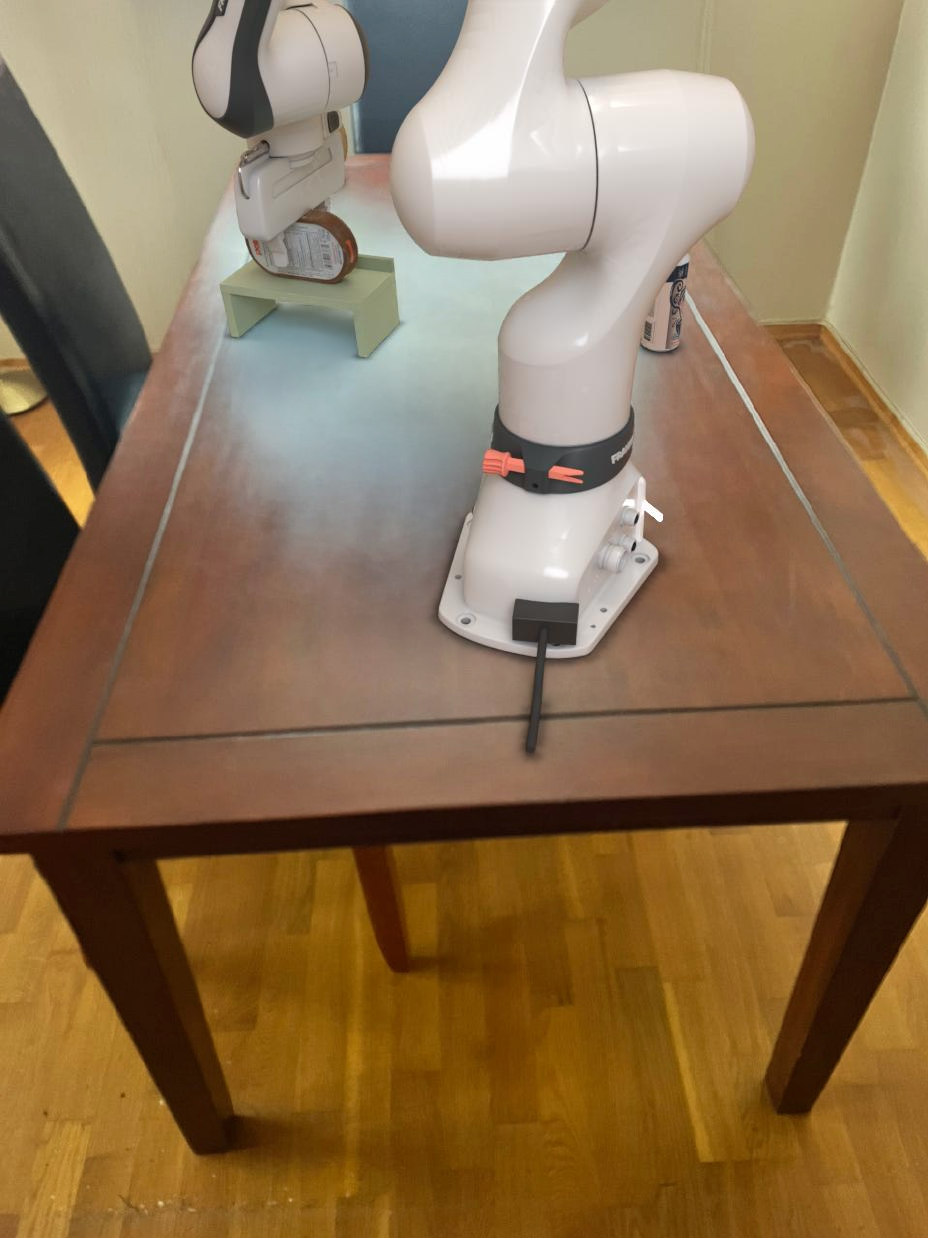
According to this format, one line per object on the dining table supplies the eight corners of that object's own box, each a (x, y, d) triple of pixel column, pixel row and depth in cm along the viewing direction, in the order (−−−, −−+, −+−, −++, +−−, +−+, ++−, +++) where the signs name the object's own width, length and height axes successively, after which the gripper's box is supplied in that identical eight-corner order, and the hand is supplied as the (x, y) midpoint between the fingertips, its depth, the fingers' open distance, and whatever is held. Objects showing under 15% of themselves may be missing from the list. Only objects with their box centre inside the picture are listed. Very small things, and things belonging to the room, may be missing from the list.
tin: (363, 280, 116) (354, 211, 111) (351, 290, 114) (342, 220, 109) (261, 265, 121) (248, 198, 115) (247, 275, 119) (234, 207, 113)
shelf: (366, 357, 117) (358, 289, 111) (231, 336, 122) (216, 270, 116) (399, 323, 123) (393, 257, 117) (269, 304, 129) (257, 241, 123)
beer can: (678, 355, 114) (690, 258, 106) (639, 353, 115) (648, 256, 106) (679, 337, 117) (691, 241, 109) (641, 335, 118) (650, 240, 110)
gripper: (260, 159, 98) (283, 286, 108) (347, 106, 112) (361, 223, 121) (210, 155, 100) (236, 280, 110) (302, 103, 114) (318, 219, 123)
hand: (302, 250), depth 116 cm, fingers open, 8 cm apart
